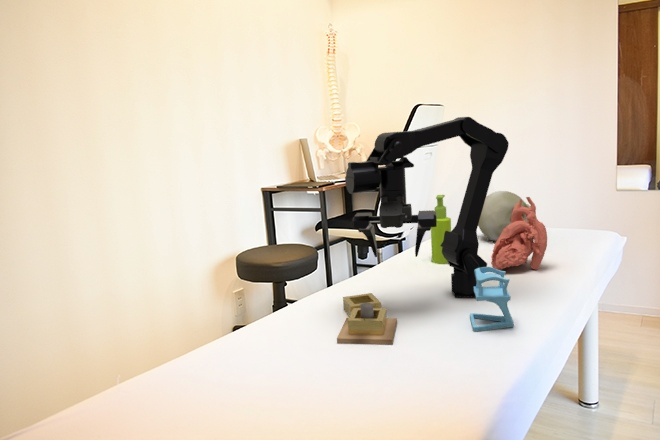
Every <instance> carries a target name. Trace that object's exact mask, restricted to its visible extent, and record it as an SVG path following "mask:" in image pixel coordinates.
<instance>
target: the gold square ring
mask: <svg viewBox="0 0 660 440" xmlns="http://www.w3.org/2000/svg"><path fill="white" fill-rule="evenodd" d="M373 313H374V319H366V318H361V308H353V310H352V312H351V314H350V316H348V318H349V319H348V334H349V335H383V334H384V331H385V327H386V323H387V318H388V317H387V308H383V307H381V308H373Z"/></svg>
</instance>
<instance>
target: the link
mask: <svg viewBox="0 0 660 440" xmlns="http://www.w3.org/2000/svg"><path fill="white" fill-rule="evenodd" d="M342 301H343V302H342V303H343V310H344V312H345V313H346V315H347V316H348V317H349V316H350V314H351V312H352V310H353V308H360V305H361V304H363V303H372V304H373V308H382V302H381V301H380V300H379V299H378V298H377V297H376V296H375V295H374V294H373V293H372V292H368V293H364V294H356V295H350V296H349V295H348V296H342Z"/></svg>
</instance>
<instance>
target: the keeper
mask: <svg viewBox="0 0 660 440" xmlns="http://www.w3.org/2000/svg"><path fill="white" fill-rule="evenodd" d="M360 308H361V318H366V319H374V313H373V304H372V303H363V304H361V305H360ZM348 319H349V317H346V318H345V320H344V322H343V324H342V327H341V329H340V331H339V333H338V335H337V337H336V343H337V344H351V345H352V344H355V345H357V344H358V345H359V344H360V345H391V346H392V345H393V344H394V339H395V334H396V330H397V325H398V318H396V317H394V318H393V317H392V318H391V317H390V318H389V317H387V323H386V327H385V331H384V334H383V335H349V334H348Z"/></svg>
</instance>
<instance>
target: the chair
mask: <svg viewBox="0 0 660 440" xmlns="http://www.w3.org/2000/svg"><path fill="white" fill-rule="evenodd" d="M474 272H475V277H476V281H477V284H476V286H474V293H475V296H476V297H475V301H476V302H479V301H480V302H481V301H482V302H483V301H485V302H489V303H494V304H496V305H497V306H498V308H499V309H500V311H501V313H502V315H494V314H493V315H492V314H485V313H475V312H474V313H472V312H471V313H469V320H470V323H471V328H472V331H473V332H482V331H488V330H489V331H490V330H498V329H505V328H506V327H507V328H513V326H514V327H515V324H514V323H515V322H514V319H513V317H512V315H511V312H510V309H509V307H508V302H510V301H511V295H510V292H508V284H509V283H510V280H511V279H510V278H506V277H505V276H506V275H505V274H506V272H507V271H505V270H497V269H495V268H493V267H491V266H487V267H481V268H477V269H475V270H474ZM491 281H497V282H499V284H498V285H497V286H496V285H495V286H482V285H483V284H484V283H487V282H491ZM475 319H480V320H485V321H492V322H494V323H487V324H480V325H476V322H475ZM500 321H502V322H500Z"/></svg>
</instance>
